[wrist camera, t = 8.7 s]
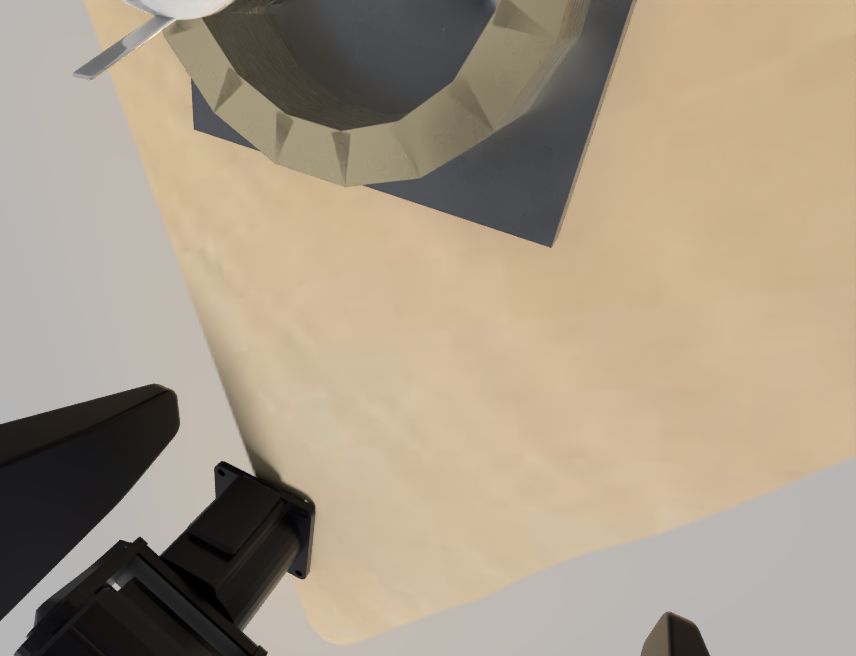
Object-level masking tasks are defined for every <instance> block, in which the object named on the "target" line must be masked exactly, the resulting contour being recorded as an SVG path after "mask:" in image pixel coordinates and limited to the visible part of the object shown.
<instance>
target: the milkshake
mask: <svg viewBox="0 0 856 656" xmlns="http://www.w3.org/2000/svg"><path fill="white" fill-rule="evenodd" d="M122 1H124V2H125V3H127V4H129V5H131V6H132V7H134V8H136V9H139V10H141V11H144V12H146V13H149V14H151V15H154V17H153V18H151V19H150V20H148V21H147V22H145V23H144V24H142V25H141V26H140V27H138V28H137V29H135V30H134V31H132V32H131V33H129V34H128V35H127V36H125V37H124V38H122V39H121V40H119V41H118V42H116V43H115V44H114V45H112V46H111V47H109V48H108V49H106V50H105V51H103V52H102V53H101V54H99V55H98V56H96V57H95V58H93V59H92V60H90V61H89V62H88V63H86V64H85V65H83V66H82V67H80V68H79V69H78V70H76V71H75V72H74V73H73V76H74V77H78V78H83V79H89V80H92V79H95V78H96V77H98V76H99V75H100V74H102V73H104V72H105V71H106V70H108V69H109V68H111V67H112V66H113V65H115V64H116V63H117V62H119V61H120V60H122V59H123V58H124V57H126V56H127V55H129V54H130V53H131V52H133V51H134V50H136V49H137V48H138V47H140V46H141V45H142V44H144V43H145V42H147V41H148V40H149V39H151V38H152V37H154V36H155V35H156V34H158V33H159V32H161V31H162V30H163V29H165V28H166V27H167V26H169V25H170V24H172V23H173V22H174V21H176V20H186V19H195V18H201V17H207V16H213V15H220V14H226V13H232V12H238V11H244V10H250V9H256V8H262V7H267V6H273V5H278V4H282V3H291V2H301V1H310V0H122Z"/></svg>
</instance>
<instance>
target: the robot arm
mask: <svg viewBox="0 0 856 656" xmlns="http://www.w3.org/2000/svg"><path fill="white" fill-rule="evenodd" d="M179 426H180V417H179V409H178V400H177V395H176V393H175V392H174V391H173V390H171V389H169V388H166V387H164V386H162V385H159V384H150V385H147V386H142V387H139V388H135V389H131V390H127V391H124V392H120V393H116V394H112V395H109V396H105V397H101V398H97V399H94V400H90V401H87V402H82V403H78V404H75V405H71V406H67V407H63V408H60V409H56V410H52V411H49V412H45V413H41V414H37V415H33V416H30V417H26V418H22V419H18V420H15V421H11V422H7V423H3V424H0V621H1V620H2V619H3V618H4V617H5V616H6V615H7V614H8V613H9V612H10V611H11V610H12V609H13V608H14V607H15V606H16V605H17V604H18V603H19V602H20V601H21V600H22V599H23V598H24V597H25V596H26V595H27V594H28V593H29V592H30V591H31V590H32V589H33V588H34V587H35V586H36V585H37V584H38V583H39V582H40V581H41V580H42V579H43V578H44V577H45V576H46V575H47V574H48V573H49V572H50V571H51V570H52V569H53V568H54V567H55V566H56V565H57V564H58V563H59V562H60V561H61V560H62V559H63V558H64V557H65V556H66V555H67V554H68V553H69V552H70V551H71V550H72V549H73V548H74V547H75V546H76V545H77V544H78V543H79V542H80V541H81V540H82V539H83V538H84V537H85V536H86V535H87V534H88V533H89V532H90V531H91V530H92V529H93V528H94V527H95V526H96V525H97V524H98V523H99V522H100V521H101V520H102V519H103V518H104V517H105V516H106V515H107V514H108V513H109V512H110V511H111V510H112V509H113V508H114V507H115V506H116V505H117V504H118V503H119V502H120V501H121V500H122V499H123V497H124V496H125V495H126V494H127V493H128V492H129V491H130V489H131V488H132V487H133V486H134V485H135V483H136V482H137V481H138V480H139V479H140V477H141V476H142V475H143V474H144V473H145V471H146V470H147V469H148V468H149V467H150V465H151V464H152V463H153V462H154V461H155V459H156V458H157V457H158V456H159V455H160V453H161V452H162V451H163V450H164V449H165V447H166V446H167V445H168V444H169V442H170V441H171V440H172V439H173V438H174V436H175V435H176V433H177V432H178V429H179ZM214 472H215V492H216V499H215V500H214V501H213V502H212V503H211V504H210V505H209V506H208V507H207V508H206V509H205V510H204V511H203V512H202V513H201V514H200V515H199V516H198V517H197V518H196V519H195V520H194V521H193V522H192V523H191V524H190V525H189V526H188V528H187V529H186V530H185V531H184V532H183V533H182V534H181V535H180V536H179V537H178V538H177V539H176V540H175V541H174V542H173V543H172V544H171V545H170V546H169V547H168V548H167V549H166V550H165V551H164V552H163V553H162V554H161V555H160V556H158V555H157V554H156V553H154V551H153V550H151V549H150V548H149V547H148V546H147V544H148V543H147V542H146V541H145V540H144V539H143V538H141V537H139V538H137V539H136V540H135V541H134V542H133V543H131V542H130V543H129V542H126V541H123V540H119V541H118V542H117V543H116V544H115V545H114V546H113V547H112V548H111V549H109V550H108V551H107V552H106V553H105V554H104V555H103V556H102V557H101V558H99V559H98V560H97V561H96V562H95V563H94V564H93V565H91V566H90V567H89V568H88V569H87V570H85V571H84V572H83V573H81V574H80V575H79V576H77V577H76V578H75V579H74V580H72V581H71V582H70V583H68V584H67V585H66V586H64V587H63V588H62V589H60V590H59V591H58V592H57V593H55V594H54V595H53V596H51V597H50V598H49V599H48V600H46V601H45V602H44V603H43V604H42V605H41V606H40V607H39V608H38V609H37V610H36V614H35V622H34V628H33V629H32V630H31V631H30V632H29V633H28V635H27V636H26V637H27V638H28V639H27V640H26V641H25V642H24V643H23V644H22V645H21V647H20V648H19V649H18V650H17V651H16V653H15V654H14V656H266V655H267V653H268V652H267V651H266V650H265V649H264V648H263V647H261V646H260V645H259V646H257V645H256V644H255V643H254V642H253V641H252V640H251V639H250V638H248V637H247V636H246V635H245V634H244V633H243V632H242V631H243V630H244V629H245V627H246V626H247V624H248V623H249V622H250V621H251V619H252V618H253V617H254V615H255V614H256V613H257V611H258V610H259V608H260V607H261V606H262V604H263V603H264V602H265V600H266V599H267V598H268V596H269V595H270V594H271V592H272V591H273V590H274V588H275V587H276V585H277V584H278V583H279V581H280V580H281V579H282V577H283V576H284V575H285V573H286V572H288V573H290V574H292V575H294V576H296V577H298V578H300V579H305V578H306V577H307V575H308V574H309V572H310V563H311V553H312V543H313V533H314V523H315V510H314V508H313V507H312V506H311V505H310V504H308V503H306V502H304V501H302V500H300V499H298V498H296V497H294V496H292V495H290V494H288V493H286V492H284V491H282V490H280V489H278V488H276V487H274V486H272V485H270V484H268V483H266V482H264V481H262V480H260V479H258V478H256V477H254V476H252V475H250V474H248V473H246V472H244V471H242V470H240V469H238V468H236V467H234V466H232V465H230V464H229V463H226V462H223V461H221V462H220V463H219V464H218V465H217V466H215V468H214ZM114 583H117V584H118V585H119V586H120V587H121V589H120V590H119V591H116V590H115V589H114V588H113V587H112V585H113V584H114ZM641 656H710V655H709V652H708V650H707V648H706V645H705V643H704V641H703V638H702V636H701V634H700V631H699V629H698V627H697V626H696V625H695V624H694V623H693V622H692V621H690V620H688V619H686V618H683V617H681V616H679V615H676V614H674V613H672V612H666V613H664V614H663V615H662V617H661V618H660V619H659V621H658V622H657V624H656V625H655V627H654V629H653V630H652V631H651V633H650V634H649V636H648V637H647V639H646V641H645V643H644V645H643V649H642V652H641Z"/></svg>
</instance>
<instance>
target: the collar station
mask: <svg viewBox="0 0 856 656" xmlns="http://www.w3.org/2000/svg"><path fill="white" fill-rule="evenodd" d="M635 3H636V0H310V1H301V2H291V3H282V4H278V5H273V6H267V7H262V8H256V9H250V10H244V11H238V12H232V13H226V14H220V15H213V16H207V17H201V18H195V19H186V20H176V21H174V22H173V23H172V24H170V25H169V26H167V27H166V28H165V29H163V30H162V31H163V34H164V37H165V39H166V40H167V42H168V43H169V45H170V46H171V48H172V49H173V51H174V52H175V54H176V55H177V57H178V58H179V60H180V62H181V63H182V65H183V66H184V68H185V69H186V71H187V72H188V74H189V75H190V77H191V85H192V103H193V121H194V130H197V131H200V132H203V133H207V134H210V135H213V136H216V137H219V138H222V139H225V140H228V141H231V142H234V143H237V144H240V145H243V146H246V147H249V148H252V149H255V150H258V151H261V152H262V153H263V154H264V155H266V156H267V157H268V158H269V159H271V160H272V161H273V162H274V163H275V164H278V165H281V166H284V167H287V168H290V169H293V170H296V171H299V172H302V173H305V174H308V175H311V176H314V177H317V178H320V179H323V180H326V181H329V182H332V183H335V184H338V185H341V186H344V187H349V186H358V185H363V186H366V187H369V188H372V189H375V190H378V191H382V192H385V193H388V194H391V195H394V196H397V197H400V198H403V199H406V200H409V201H412V202H415V203H418V204H421V205H424V206H427V207H430V208H433V209H436V210H439V211H442V212H445V213H448V214H451V215H454V216H457V217H460V218H463V219H466V220H469V221H472V222H475V223H478V224H481V225H484V226H487V227H490V228H493V229H496V230H499V231H502V232H505V233H508V234H511V235H514V236H517V237H520V238H523V239H526V240H529V241H532V242H535V243H538V244H541V245H544V246H547V247H550V248H551V247H552V246H553V244H554V243H555V241H556V240H557V238H558V235H559V232H560V229H561V226H562V223H563V220H564V217H565V214H566V211H567V208H568V205H569V202H570V199H571V196H572V193H573V190H574V187H575V184H576V181H577V178H578V175H579V172H580V169H581V166H582V163H583V160H584V157H585V154H586V151H587V148H588V145H589V142H590V139H591V136H592V133H593V130H594V127H595V124H596V121H597V118H598V115H599V112H600V109H601V106H602V103H603V100H604V97H605V94H606V91H607V88H608V85H609V82H610V79H611V76H612V73H613V70H614V67H615V64H616V61H617V58H618V55H619V52H620V49H621V46H622V43H623V40H624V37H625V34H626V31H627V28H628V25H629V22H630V19H631V15H632V12H633V9H634V6H635Z"/></svg>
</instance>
